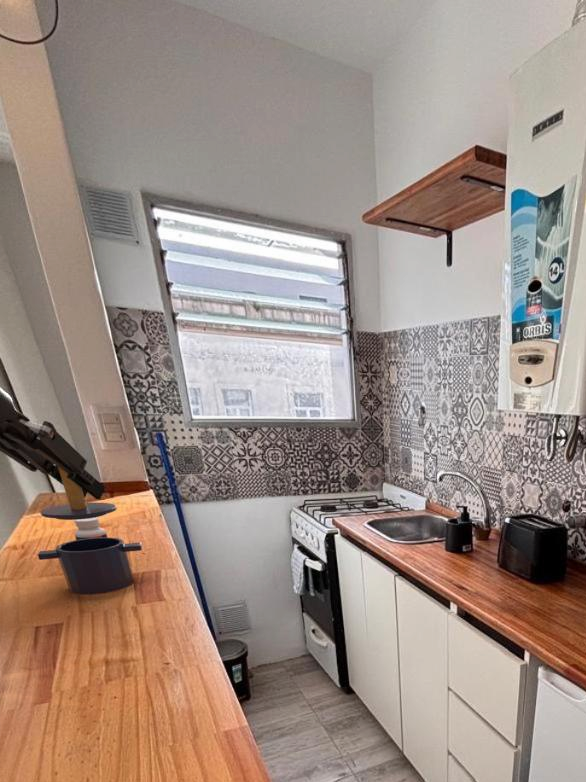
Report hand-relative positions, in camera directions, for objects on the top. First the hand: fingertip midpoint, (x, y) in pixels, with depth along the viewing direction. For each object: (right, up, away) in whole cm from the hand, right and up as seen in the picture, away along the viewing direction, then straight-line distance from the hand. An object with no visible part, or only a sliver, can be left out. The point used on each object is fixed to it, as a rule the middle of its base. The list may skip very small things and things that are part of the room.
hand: (93, 492), depth 94 cm
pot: (-1, -17, +4) cm, 18 cm away
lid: (-1, -4, -2) cm, 5 cm away
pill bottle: (-11, -11, +17) cm, 23 cm away
